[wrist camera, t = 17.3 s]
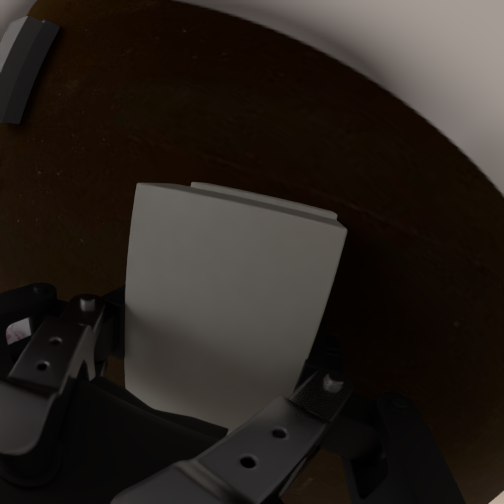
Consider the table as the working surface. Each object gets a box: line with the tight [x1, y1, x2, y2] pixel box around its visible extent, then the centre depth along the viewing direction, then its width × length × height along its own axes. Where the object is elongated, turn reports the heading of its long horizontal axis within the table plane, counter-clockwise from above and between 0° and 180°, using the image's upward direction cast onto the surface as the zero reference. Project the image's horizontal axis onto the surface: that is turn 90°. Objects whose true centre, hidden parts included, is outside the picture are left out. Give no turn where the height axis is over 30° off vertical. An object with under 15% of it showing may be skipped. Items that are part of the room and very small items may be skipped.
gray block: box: [0, 16, 60, 124], centre depth 14 cm, size 10×4×4 cm, turn 158°
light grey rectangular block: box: [124, 183, 347, 435], centre depth 10 cm, size 10×6×3 cm, turn 168°
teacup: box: [6, 318, 31, 345], centre depth 20 cm, size 12×12×6 cm
